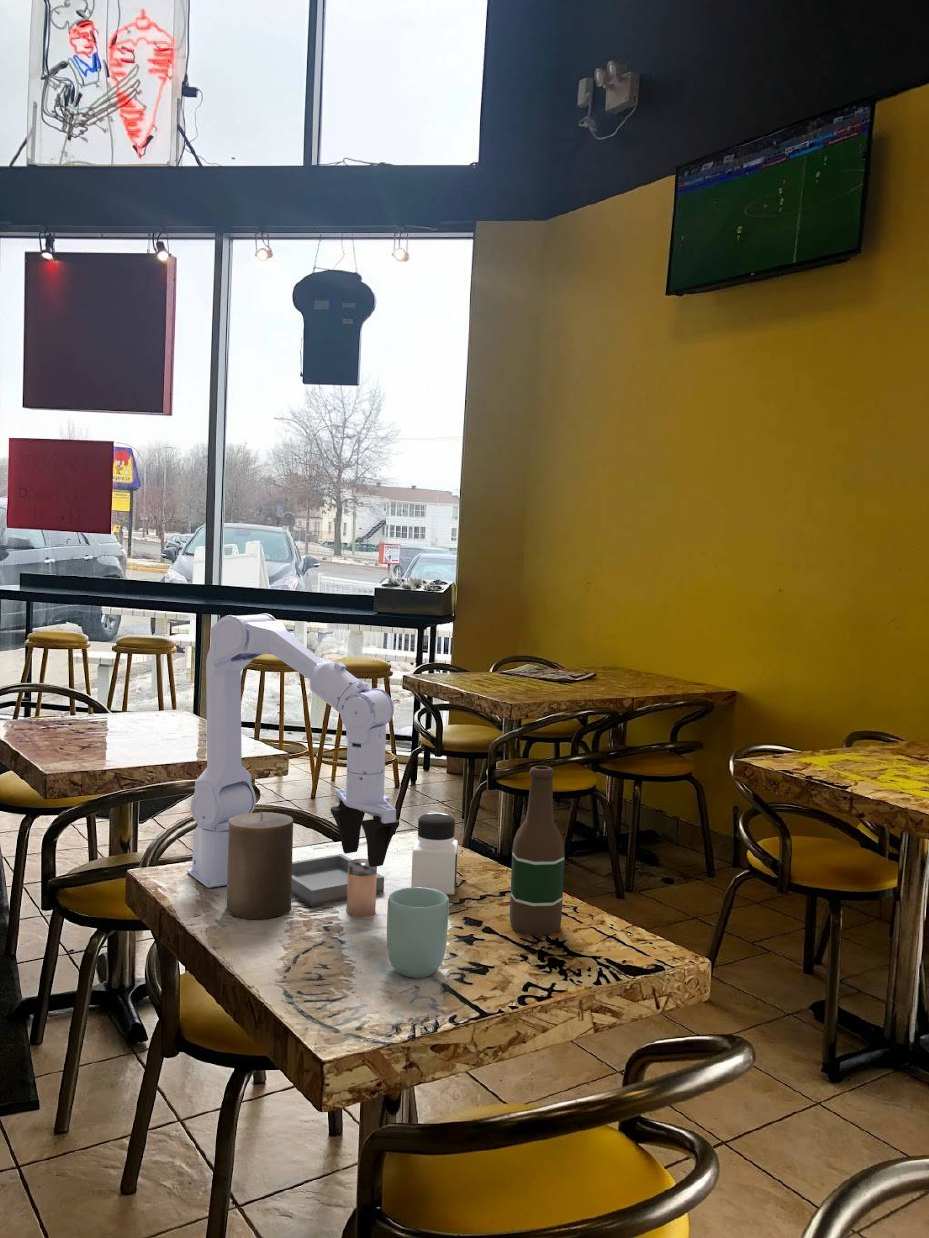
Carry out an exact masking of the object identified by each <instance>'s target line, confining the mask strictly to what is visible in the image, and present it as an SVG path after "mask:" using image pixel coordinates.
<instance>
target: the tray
mask: <svg viewBox="0 0 929 1238" xmlns="http://www.w3.org/2000/svg"><path fill="white" fill-rule="evenodd" d="M351 860H353V859H352V858H350V857H348V856H346V855H345V854H342V853H339V854H334V855H325V856H321V857H320V856H319V857H315V858H309V859H303V860H298V861H297V860H296V861H292V892H291V895H293V896H295V897H296V898H297V899H299V900H301V901H302V902H304V903H305V904H307V905H308V906H310V907H316V906H321V905H326V904H331V903H337V902H341V901H347V878H348V862H349V861H351ZM384 892H385V876H383V875H381V874H380V873H378V872H377V881H376V895H377V894H382V893H384Z"/></svg>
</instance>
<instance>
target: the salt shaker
mask: <svg viewBox="0 0 929 1238" xmlns="http://www.w3.org/2000/svg"><path fill="white" fill-rule="evenodd" d="M377 873H378V866H376V867H370V866H369V863H368V858H355V859H352V860H351V861H349V862H348V878H347V900H346V913H347V914H348V915H350V916H353V917H359V918H360V917H362V918H363V917H365V918H366V917H370V916H373V915H374V914H376V910H377V909H376V908H377V903H376V901H377V894H376V881H377Z"/></svg>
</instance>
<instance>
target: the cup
mask: <svg viewBox="0 0 929 1238" xmlns="http://www.w3.org/2000/svg"><path fill="white" fill-rule="evenodd" d="M449 902H450V899H449V897H448V894H444V893H443V892H440V891H438V890H434V889H430V888H423V887H411V886H410V887H405V888H400V889H398V890H395V891H393V892H391V893H390V894H389V895H388V899H387V909H386V910H387V912H386V914H387V915H386V916H387V917H386V947H387V954H388V960H389V963H390V965H391V967H392V968H393V969H394V970H395V972H397V973H398V974H400V975H402V976H404V977H408V978H413V979H419V978H421V979H422V978H425V977H428V976H431V975H433V974H434V973H436V972H437V971H438V970H439V969H440V967H441V965H442V964H443V961H444V958H445V955H446V950H447V941H448V934H449V933H448V932H449V931H448V930H449V913H450V912H449V911H450V909H449V908H450V905H449V904H450V903H449Z"/></svg>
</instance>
